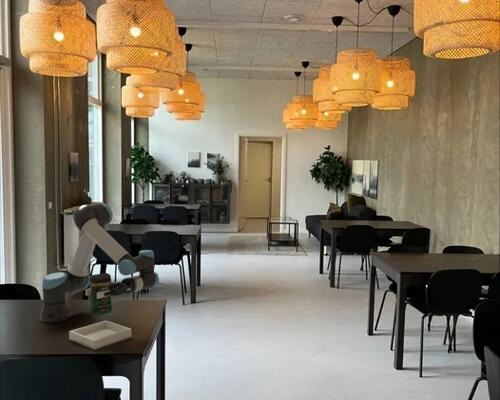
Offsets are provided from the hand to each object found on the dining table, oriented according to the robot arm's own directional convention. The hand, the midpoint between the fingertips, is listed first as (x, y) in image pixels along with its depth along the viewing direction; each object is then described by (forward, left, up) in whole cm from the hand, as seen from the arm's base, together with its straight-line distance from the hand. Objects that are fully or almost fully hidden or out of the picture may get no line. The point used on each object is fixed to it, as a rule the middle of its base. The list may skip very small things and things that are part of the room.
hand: (91, 294), depth 214 cm
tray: (0, +4, -22) cm, 22 cm away
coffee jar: (0, +5, -10) cm, 11 cm away
